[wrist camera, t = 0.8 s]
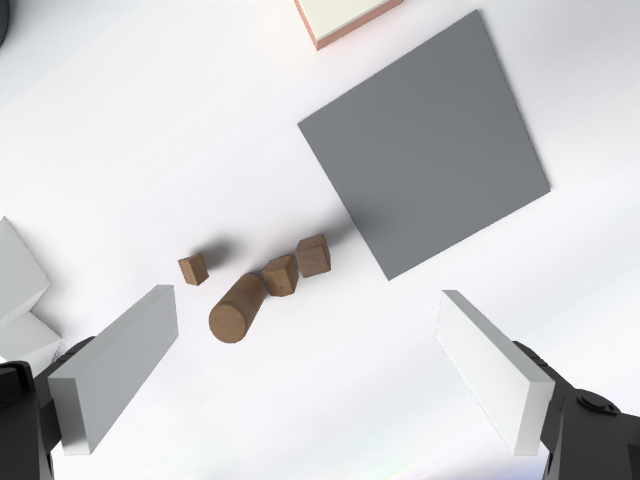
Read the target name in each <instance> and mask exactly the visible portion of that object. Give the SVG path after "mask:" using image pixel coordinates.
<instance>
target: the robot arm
mask: <svg viewBox="0 0 640 480" xmlns="http://www.w3.org/2000/svg"><path fill="white" fill-rule="evenodd" d="M7 22H8V0H0V43H1V42H2V39H3V37H4V34H5V31H6V27H7ZM177 337H178V326H177V315H176V305H175V294H174V285H157V286H156V287H154V288H153V289H152V290H151V291H150V292H148V293H147V294H146V295H145V296H144V297H143V298H141V299H140V300H139V301H138V302H137V303H135V304H134V305H133V306H132V307H131V308H129V309H128V310H127V311H126V312H125V313H124V314H122V315H121V316H120V317H119V318H118V319H116V320H115V321H114V322H113V323H112V324H110V325H109V326H108V327H107V328H106V329H104V330H103V331H102V332H101V333H100V334H99V335H97V336H91V337H89V338H87V339H85V340H83V341H81V342H79V343H77V344H76V345H74V346H73V347H72V348H71V349H69V350H68V351H67V352H66V353H65V355H62V356H61V357H60V358H58V359H57V360H56V362H53V363H52V364H51V365H50V366H48V367H47V368H46V369H45V370H43V371H42V372H41V373H40V374H38V375H37V376H36V377H35V378H33V375H32V371H31V367H30V364H29V363H28V362H26V361H22V360H20V361H9V362H4V363H0V480H54V471H53V460H52V456H51V452H50V451H51V450H52V449H53V448H54V447H55V446H56V445H57V444H58V442H59V441H60V440H61V442H62V447H63V451H64V455H91V454H92V452H93V451H94V450H95V448H96V447H97V446H98V444H99V443H100V441H101V440H102V439H103V437H104V436H105V435H106V433H107V432H108V431H109V429H110V428H111V427H112V425H113V424H114V422H115V421H116V420H117V418H118V417H119V416H120V414H121V413H122V412H123V410H124V409H125V408H126V406H127V405H128V403H129V402H130V401H131V399H132V398H133V397H134V395H135V394H136V393H137V391H138V390H139V389H140V387H141V386H142V385H143V383H144V382H145V380H146V379H147V378H148V376H149V375H150V374H151V372H152V371H153V370H154V368H155V367H156V366H157V364H158V363H159V361H160V360H161V359H162V357H163V356H164V355H165V353H166V352H167V351H168V349H169V348H170V347H171V345H172V344H173V343H174V341H175V340H176V338H177ZM435 340H436V342H437V343H438V345H439V346H440V348H441V349H442V351H443V352H444V354H445V355H446V357H447V358H448V360H449V361H450V363H451V364H452V366H453V367H454V369H455V370H456V372H457V373H458V375H459V376H460V378H461V379H462V381H463V382H464V384H465V385H466V387H467V388H468V390H469V391H470V393H471V394H472V396H473V397H474V399H475V400H476V402H477V403H478V405H479V406H480V408H481V409H482V411H483V412H484V414H485V415H486V417H487V418H488V420H489V421H490V423H491V424H492V426H493V427H494V429H495V430H496V432H497V433H498V435H499V436H500V438H501V439H502V441H503V442H504V444H505V445H506V447H507V448H508V450H509V451H510V453H511V454H512V456H537V452H538V448H539V444H540V440H541V441H542V442H543V444H544V445H545V446H546V447H547V449H548V450H549V451H550V452H549V456H548V460H547V463H546V467H545V471H544V474H543V478H542V480H640V417H638V416H633V415H629V414H624V413H621V411H620V410H619V409H618V408H617V407H616V406H615V405H614V404H613V403H612V402H610V401H609V400H607V399H605V398H604V397H602V396H600V395H598V394H595V393H593V392H590V391H586V390H583V389H575V388H574V387H573V386H572V385H571V384H570V383H568V382H567V381H566V380H565V379H564V378H563V377H562V376H560V375H559V374H558V373H557V372H556V371H555V370H554V369H553V368H551V367H550V366H548V364H547V363H546V362H545V361H544V360H542V359H540V357H539V356H538V355H537V354H536V353H535V352H533V351H532V350H531V349H530V348H528V347H526V346H525V345H523V344H521V343H519V342H517V341H511V340H510V339H509V338H508V337H506V336H505V335H504V334H503V333H502V332H501V331H500V330H499V329H498V328H497V327H496V326H495V325H494V324H493V323H491V322H490V321H489V320H488V319H487V318H486V317H485V316H484V315H483V314H482V313H481V312H480V311H479V310H478V309H476V308H475V307H474V306H473V305H472V304H471V303H470V302H469V301H468V300H467V299H466V298H465V297H464V296H463V295H461V294H460V293H459V292H458V291H457V290H442V292H441V299H440V306H439V313H438V320H437V328H436V335H435Z"/></svg>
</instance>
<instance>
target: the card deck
mask: <svg viewBox="0 0 640 480" xmlns="http://www.w3.org/2000/svg"><path fill="white" fill-rule="evenodd" d="M402 1H403V0H294V2H295V4H296V7H297V9H298V11H299V13H300V15H301V17H302V20H303V22H304V24H305V26H306V28H307V30H308V33H309V35H310V37H311V39H312V41H313V43H314V46H315V48H316V50H317V51H318V50H320V49H321V48H323V47H325V46H327V45H328V44H330V43H332V42H334V41H335V40H337V39H339V38H341V37H342V36H344V35H346V34H348V33H350V32H351V31H353V30H355V29H357V28H358V27H360V26H362V25H364V24H365V23H367V22H369V21H371V20H372V19H374V18H376V17H378V16H379V15H381V14H383V13H385V12H386V11H388V10H390V9H392V8H393V7H395V6H397V5H399V4H400V3H402Z"/></svg>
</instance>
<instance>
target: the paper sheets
mask: <svg viewBox="0 0 640 480" xmlns="http://www.w3.org/2000/svg"><path fill="white" fill-rule="evenodd" d="M51 284H52V282H51V280H50V279H49V278H48V276H47V275H46V273H45V272H44V271H43V269H42V268H41V266H40V265H39V264H38V262H37V261H36V259H35V258H34V257H33V255H32V254H31V252H30V251H29V250H28V248H27V247H26V245H25V244H24V243H23V241H22V240H21V238H20V237H19V236H18V234H17V233H16V231H15V230H14V229H13V227H12V226H11V224H10V223H9V222H8V220H7V219H6V218H5V216H4V217H3V218H2V220H1V221H0V363H4V362H9V361H20V360H22V361H26V362H28V363H29V364H30V367H31V371H32V375H33V378H35V377H36V376H37V375H38V374H40V373H41V372H42V371H43V370H45V369H46V368H47V367H48V366H49V365H50V363H51V361H52V359H53V357H54V355H55V353H56V350H57V348H58V346H59V344H60V342H61V340H62V338H61V337H60V336H59V335H57V334H56V333H55V332H54V331H53V330H51V329H50V328H49V327H48V326H46V325H45V324H44V323H43V322H41V321H40V320H39V319H38V318H37V317H35V316H34V315H33V314H32V313H30V312H29V311H30V310H31V308H32V307H33V306H34V305H35V303H36V302H37V301H38V300H39V298H40V297H41V296H42V295H43V293H44V292H45V291H46V290H47V288H48V287H49V286H50V285H51ZM60 441H61V440H60Z"/></svg>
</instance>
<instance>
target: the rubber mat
mask: <svg viewBox="0 0 640 480" xmlns="http://www.w3.org/2000/svg"><path fill="white" fill-rule="evenodd" d="M297 125H298V126H299V128H300V130H301V132H302V133H303V135H304V137H305V138H306V140H307V142H308V144H309V145H310V147H311V149H312V150H313V152H314V154H315V156H316V157H317V159H318V161H319V162H320V164H321V166H322V168H323V169H324V171H325V173H326V174H327V176H328V178H329V180H330V181H331V183H332V185H333V187H334V188H335V190H336V192H337V193H338V195H339V197H340V199H341V200H342V202H343V204H344V205H345V207H346V209H347V211H348V212H349V214H350V216H351V217H352V219H353V221H354V223H355V224H356V226H357V228H358V229H359V231H360V233H361V235H362V236H363V238H364V240H365V241H366V243H367V245H368V247H369V248H370V250H371V252H372V253H373V255H374V257H375V259H376V260H377V262H378V264H379V265H380V267H381V269H382V271H383V272H384V274H385V276H386V277H387V279H388V281H389V280H391V279H393V278H395V277H397V276H398V275H400V274H402V273H404V272H406V271H408V270H409V269H411V268H413V267H415V266H417V265H418V264H420V263H422V262H424V261H426V260H427V259H429V258H431V257H433V256H435V255H436V254H438V253H440V252H442V251H444V250H446V249H447V248H449V247H451V246H453V245H455V244H456V243H458V242H460V241H462V240H464V239H465V238H467V237H469V236H471V235H473V234H474V233H476V232H478V231H480V230H482V229H484V228H485V227H487V226H489V225H491V224H493V223H494V222H496V221H498V220H500V219H502V218H503V217H505V216H507V215H509V214H511V213H513V212H514V211H516V210H518V209H520V208H522V207H523V206H525V205H527V204H529V203H531V202H532V201H534V200H536V199H538V198H540V197H541V196H543V195H545V194H547V193H549V192H551V191H550V189H549V186H548V184H547V181H546V179H545V176H544V174H543V171H542V169H541V166H540V164H539V161H538V159H537V157H536V154H535V152H534V149H533V147H532V144H531V142H530V139H529V137H528V134H527V132H526V129H525V127H524V124H523V122H522V120H521V117H520V115H519V112H518V110H517V107H516V105H515V102H514V100H513V97H512V95H511V92H510V90H509V87H508V85H507V83H506V80H505V78H504V75H503V73H502V70H501V68H500V65H499V63H498V60H497V58H496V55H495V53H494V50H493V48H492V46H491V43H490V41H489V38H488V36H487V33H486V31H485V28H484V26H483V23H482V21H481V18H480V16H479V13H478V11H477V9H476V10H475V11H473V12H472V13H470V14H468V15H467V16H465V17H464V18H462V19H461V20H459V21H458V22H456V23H454V24H453V25H451V26H450V27H448V28H447V29H445V30H443V31H442V32H440V33H439V34H437V35H436V36H434V37H432V38H431V39H429V40H428V41H426V42H425V43H423V44H422V45H420V46H418V47H417V48H415V49H414V50H412V51H411V52H409V53H407V54H406V55H404V56H403V57H401V58H400V59H398V60H397V61H395V62H393V63H392V64H390V65H389V66H387V67H386V68H384V69H382V70H381V71H379V72H378V73H376V74H375V75H373V76H371V77H370V78H368V79H367V80H365V81H364V82H362V83H361V84H359V85H357V86H356V87H354V88H353V89H351V90H350V91H348V92H346V93H345V94H343V95H342V96H340V97H339V98H337V99H336V100H334V101H332V102H331V103H329V104H328V105H326V106H325V107H323V108H321V109H320V110H318V111H317V112H315V113H314V114H312V115H310V116H309V117H307V118H306V119H304V120H303V121H301V122H300V123H298V124H297Z"/></svg>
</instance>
